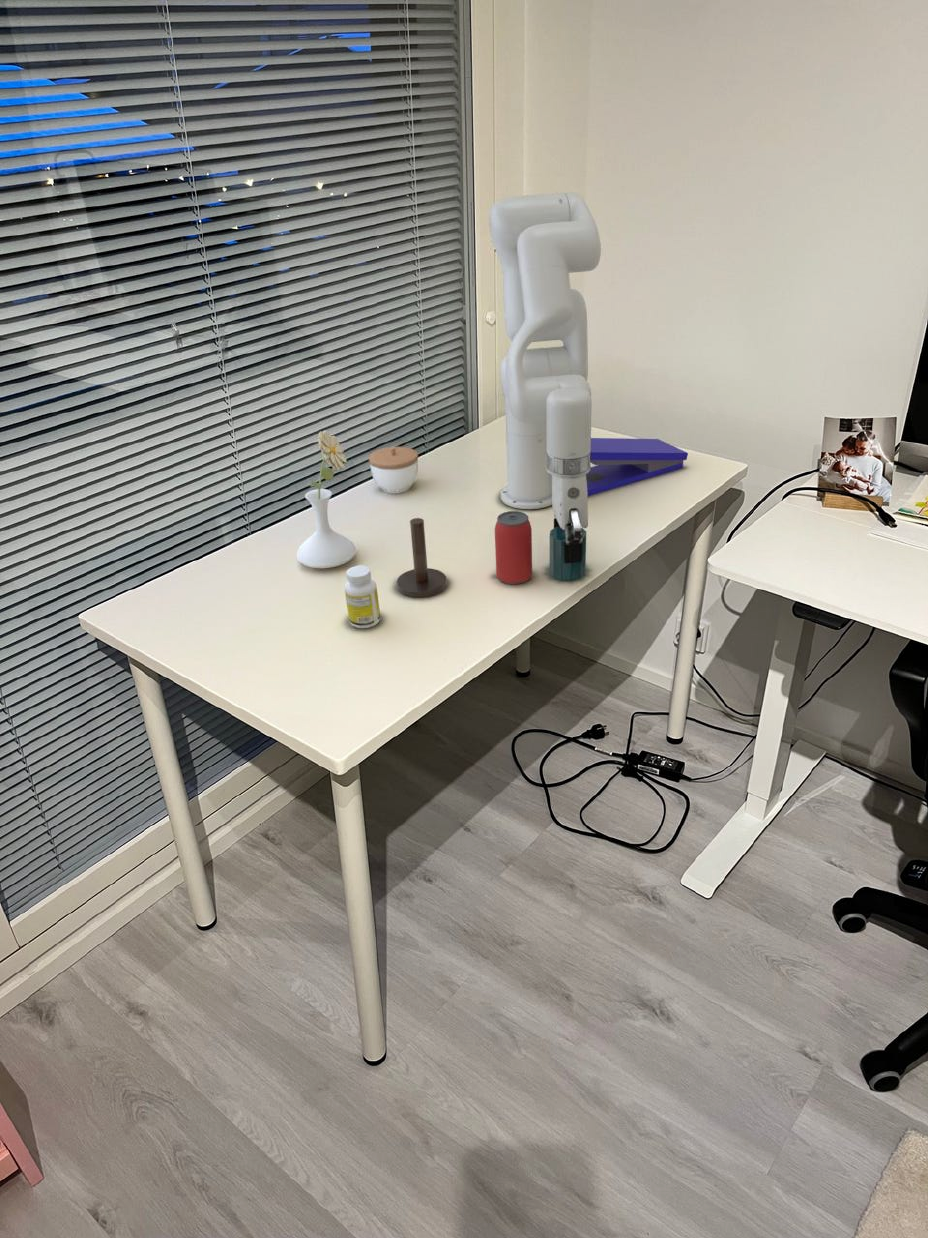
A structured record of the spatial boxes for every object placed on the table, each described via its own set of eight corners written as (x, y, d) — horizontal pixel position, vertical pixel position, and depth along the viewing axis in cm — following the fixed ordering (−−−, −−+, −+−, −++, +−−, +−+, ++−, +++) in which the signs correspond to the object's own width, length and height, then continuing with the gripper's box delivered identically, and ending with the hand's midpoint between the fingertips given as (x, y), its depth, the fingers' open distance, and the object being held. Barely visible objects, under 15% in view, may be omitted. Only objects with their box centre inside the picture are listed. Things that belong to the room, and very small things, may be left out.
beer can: (532, 568, 178) (532, 509, 172) (531, 585, 172) (530, 525, 166) (497, 568, 179) (495, 509, 172) (495, 585, 173) (492, 525, 167)
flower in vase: (332, 579, 178) (315, 452, 165) (285, 566, 183) (265, 442, 170) (373, 550, 187) (360, 428, 174) (327, 538, 193) (311, 419, 180)
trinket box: (429, 483, 214) (426, 444, 209) (401, 501, 206) (397, 460, 202) (391, 475, 219) (388, 436, 214) (362, 492, 212) (357, 452, 207)
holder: (419, 569, 180) (414, 505, 173) (456, 582, 175) (452, 517, 168) (387, 588, 174) (380, 524, 167) (424, 602, 169) (419, 536, 162)
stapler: (555, 481, 212) (555, 439, 207) (654, 452, 223) (657, 412, 218) (585, 498, 203) (586, 455, 198) (687, 468, 214) (691, 426, 209)
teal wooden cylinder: (562, 560, 180) (563, 522, 176) (592, 569, 176) (593, 530, 172) (543, 574, 176) (542, 535, 172) (572, 584, 172) (573, 544, 168)
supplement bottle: (364, 609, 168) (358, 560, 163) (387, 618, 165) (381, 568, 160) (342, 623, 165) (335, 573, 159) (365, 632, 162) (358, 582, 156)
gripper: (601, 479, 158) (598, 570, 167) (579, 441, 172) (578, 527, 181) (556, 483, 157) (555, 574, 166) (538, 444, 172) (539, 530, 181)
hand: (567, 549), depth 174 cm, fingers open, 9 cm apart
